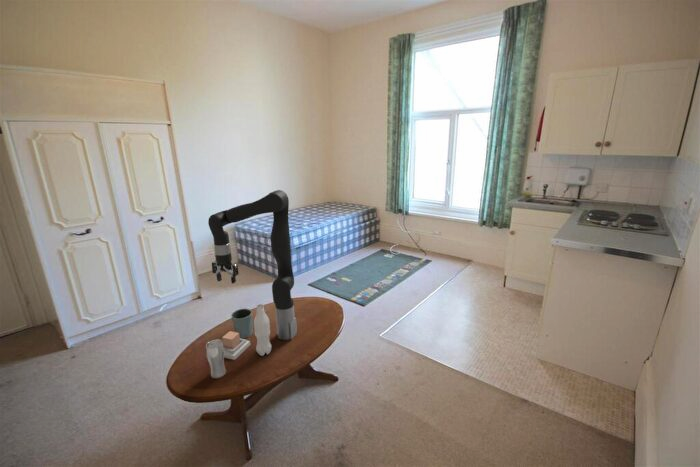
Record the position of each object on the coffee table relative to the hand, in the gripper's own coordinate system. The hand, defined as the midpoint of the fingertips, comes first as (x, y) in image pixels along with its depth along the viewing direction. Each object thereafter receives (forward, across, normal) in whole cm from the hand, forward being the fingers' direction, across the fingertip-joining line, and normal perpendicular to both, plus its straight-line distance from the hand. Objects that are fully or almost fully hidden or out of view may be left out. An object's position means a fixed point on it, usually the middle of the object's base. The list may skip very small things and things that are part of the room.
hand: (226, 281), depth 162 cm
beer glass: (+28, -16, +30) cm, 44 cm away
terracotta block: (+26, -11, +14) cm, 32 cm away
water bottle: (+28, -27, +11) cm, 41 cm away
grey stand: (+28, -11, +14) cm, 33 cm away
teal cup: (+28, -8, +1) cm, 29 cm away
